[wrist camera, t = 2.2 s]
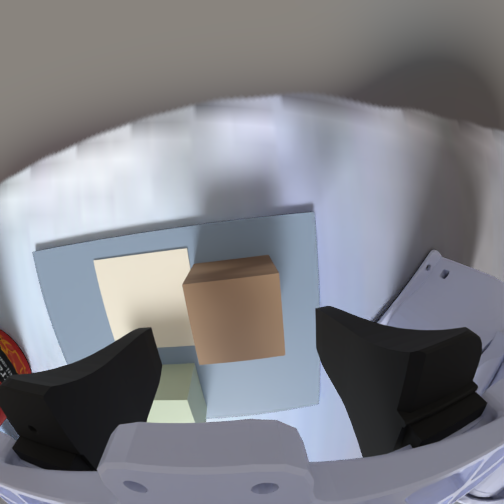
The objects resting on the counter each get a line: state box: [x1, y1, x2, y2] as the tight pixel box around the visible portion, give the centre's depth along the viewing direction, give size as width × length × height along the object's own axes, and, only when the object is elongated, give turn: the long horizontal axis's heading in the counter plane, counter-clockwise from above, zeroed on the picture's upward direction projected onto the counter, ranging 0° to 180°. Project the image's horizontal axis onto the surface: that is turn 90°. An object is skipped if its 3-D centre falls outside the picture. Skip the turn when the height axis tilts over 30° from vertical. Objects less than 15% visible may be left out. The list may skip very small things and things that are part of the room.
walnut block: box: [182, 255, 285, 365], centre depth 15 cm, size 4×4×4 cm
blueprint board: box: [33, 212, 320, 419], centre depth 18 cm, size 20×15×1 cm
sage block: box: [147, 363, 207, 423], centre depth 16 cm, size 4×4×4 cm
